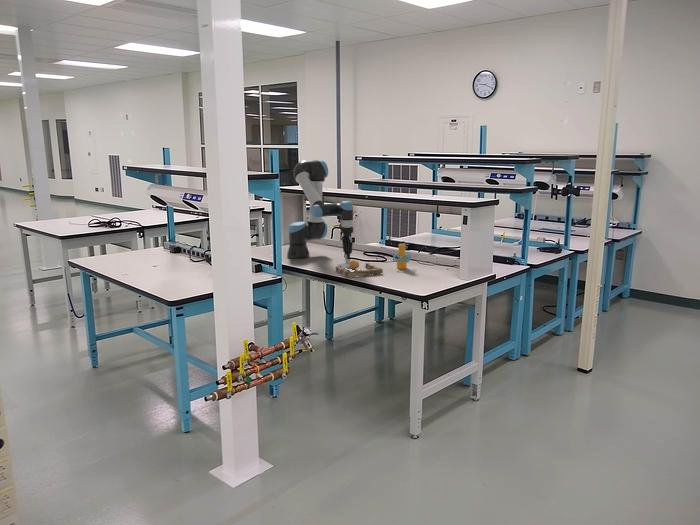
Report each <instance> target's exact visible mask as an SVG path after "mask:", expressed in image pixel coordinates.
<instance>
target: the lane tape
mask: <svg viewBox="0 0 700 525" xmlns="http://www.w3.org/2000/svg"><path fill="white" fill-rule="evenodd" d="M338 265H339V266H341V267H342V268H347V269H350V267H349V264H345V262H343V263H337V265H336V266H338Z"/></svg>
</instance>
